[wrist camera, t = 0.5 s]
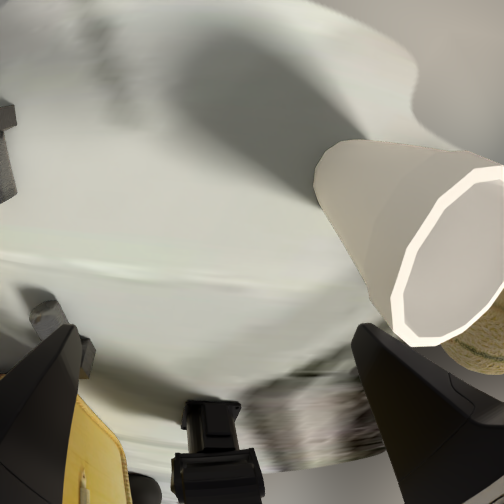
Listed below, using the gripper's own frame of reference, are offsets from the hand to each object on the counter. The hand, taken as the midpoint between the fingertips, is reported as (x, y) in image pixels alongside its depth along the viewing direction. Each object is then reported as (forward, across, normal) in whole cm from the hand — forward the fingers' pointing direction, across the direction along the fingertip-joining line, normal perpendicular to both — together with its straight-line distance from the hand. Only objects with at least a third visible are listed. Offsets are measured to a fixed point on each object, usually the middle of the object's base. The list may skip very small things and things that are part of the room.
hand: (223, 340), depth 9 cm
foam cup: (+14, -11, -2) cm, 18 cm away
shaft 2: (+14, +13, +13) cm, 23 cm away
